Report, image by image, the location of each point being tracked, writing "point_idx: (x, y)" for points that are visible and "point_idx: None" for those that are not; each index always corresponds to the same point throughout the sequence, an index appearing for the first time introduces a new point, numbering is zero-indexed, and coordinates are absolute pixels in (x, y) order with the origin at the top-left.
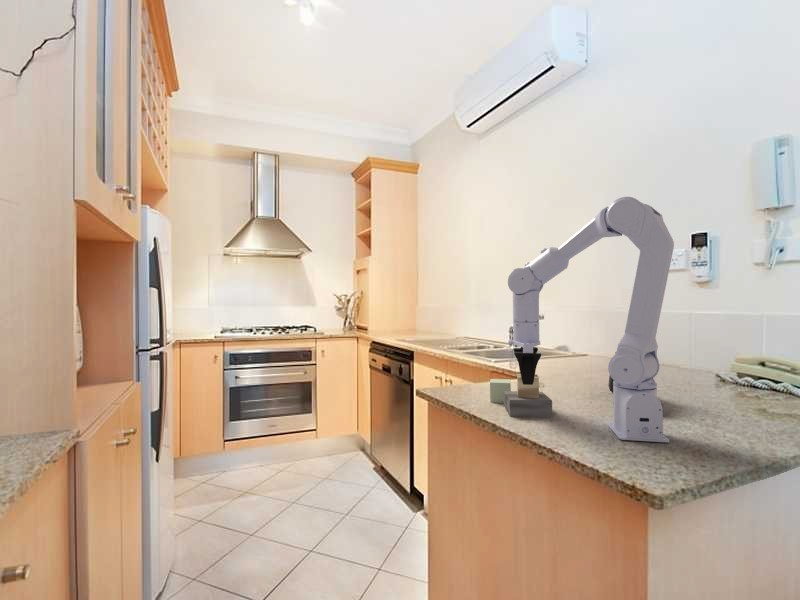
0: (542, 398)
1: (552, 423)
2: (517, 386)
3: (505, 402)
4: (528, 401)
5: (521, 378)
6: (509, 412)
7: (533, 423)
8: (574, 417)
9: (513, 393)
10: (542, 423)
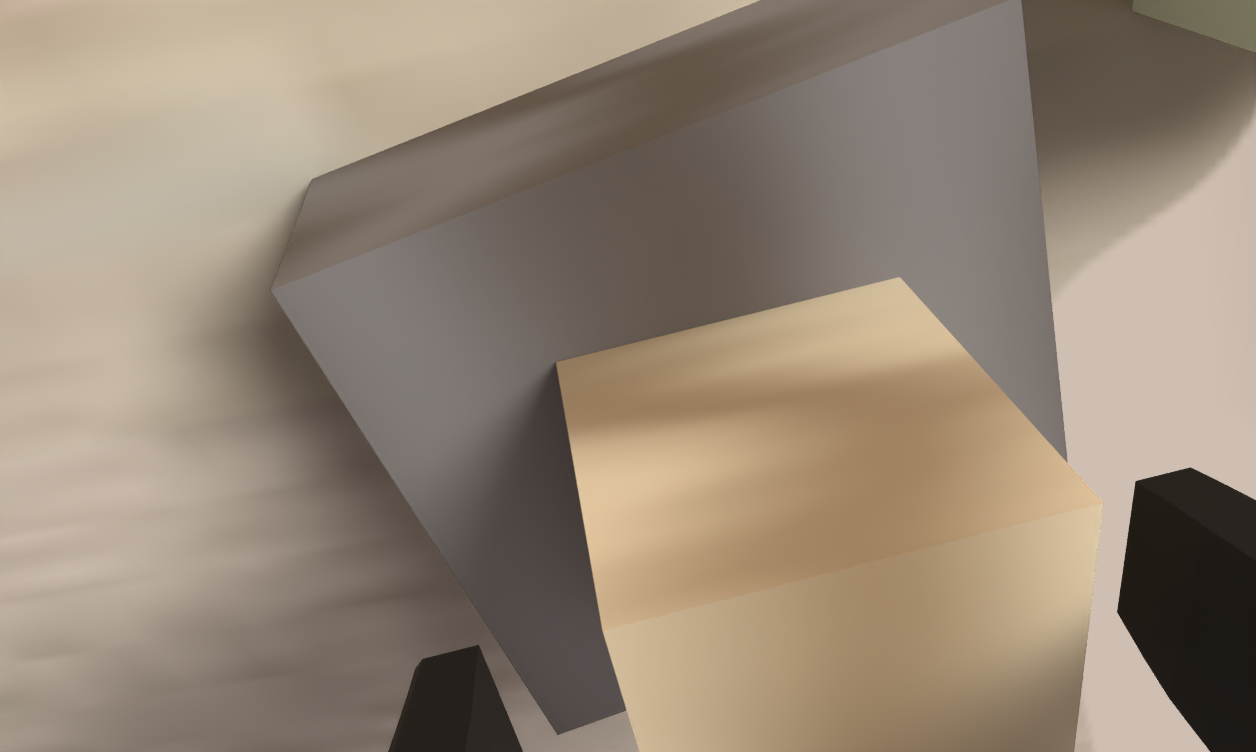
0: None
1: (295, 622)
2: (809, 392)
3: (740, 45)
4: (427, 514)
5: (447, 731)
6: (349, 180)
7: (168, 485)
8: (624, 714)
9: (852, 224)
10: (232, 554)
